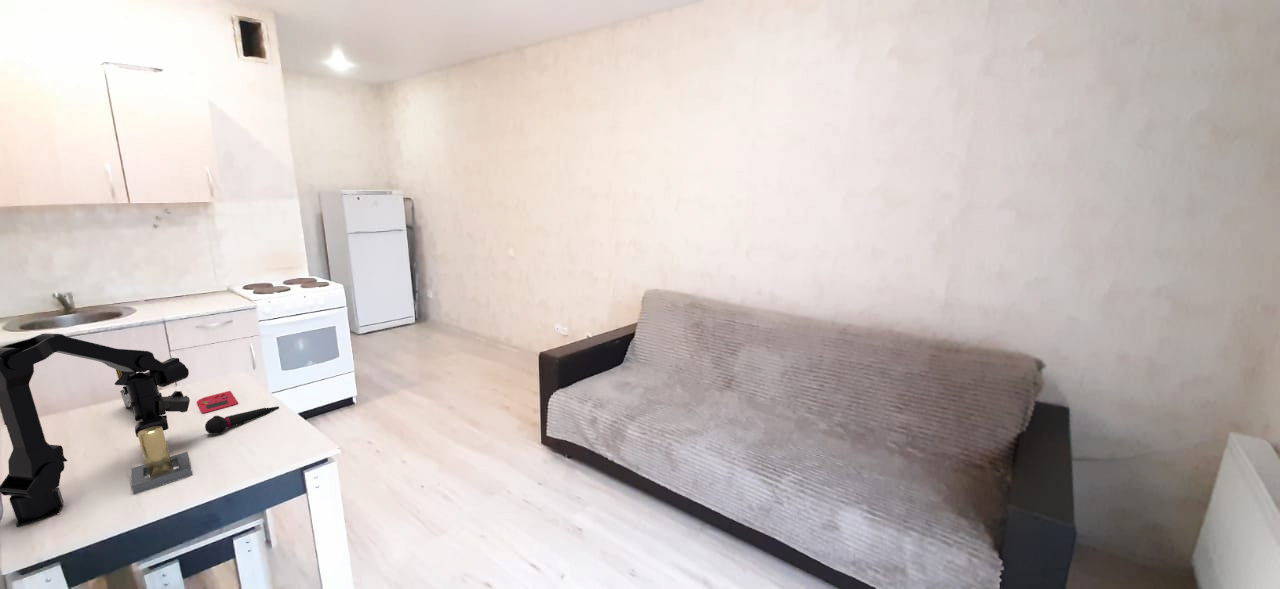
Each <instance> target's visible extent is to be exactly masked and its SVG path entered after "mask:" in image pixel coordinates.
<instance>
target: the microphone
mask: <svg viewBox="0 0 1280 589" xmlns="http://www.w3.org/2000/svg"><path fill="white" fill-rule="evenodd" d="M279 408H280V406H279V405H278V406H273V407H262V408H258V409H253V410H250V411H244V412H240V413H236V414H231V415H227V416H224V417H223V416H219V415H214V416H213V417H211V418H209V419H208V420H207V421H206V423H205V424H204V425H205V426H204V428H205V432H207V433H209V434H211V435H221V434H223V433H224V432H225V431H226V430H227V428H232V427H235V426H241V425H243V424H244V423H246V422H249V421H252V420H255V419H257V418H260V417H263V416H266V415H268V414H270V413H271V412H275V411H277V410H279Z"/></svg>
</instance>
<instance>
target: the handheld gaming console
mask: <svg viewBox="0 0 1280 589" xmlns="http://www.w3.org/2000/svg"><path fill="white" fill-rule="evenodd" d="M196 404H197V407H198V409H199V412H200V413H201V415H205V414H210V413H213V412H215V411H217V412H218V411H221V410H224V409H227V408H231V407H234V406H237V405H239V402H238V400H237V399H236V397H235V396H234V395H233V393H232V391H231V390H227V391H224V392H221V393H215V394H212V395H209V396H204V397H202V398H200V399H198V400H197V401H196Z"/></svg>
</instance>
